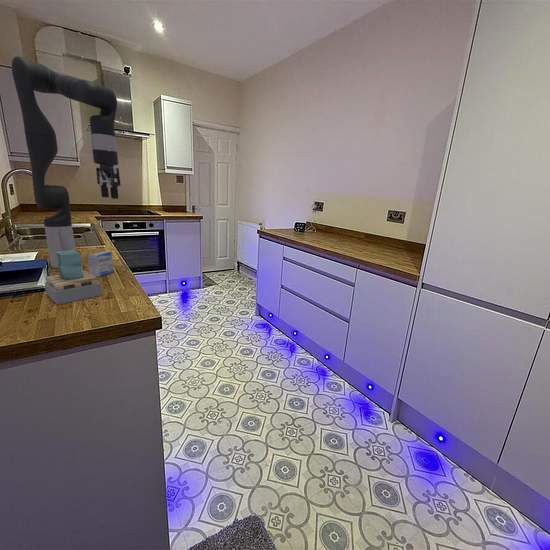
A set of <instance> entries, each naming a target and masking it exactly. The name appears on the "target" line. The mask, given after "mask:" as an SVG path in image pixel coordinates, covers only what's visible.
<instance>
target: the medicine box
mask: <svg viewBox="0 0 550 550" xmlns="http://www.w3.org/2000/svg"><path fill="white" fill-rule="evenodd" d="M112 253H113V252H112V251H106V250H102V251H98V252H95V253H90V254H87V263H88V270H89V273H90V274H92V275H94V276H95V277H97V278H100V277H103V275H104V276H106V274H107V275H109V273H110V274H112V273H114V272H115V271H114V270H115V269H114V262H113V254H112Z"/></svg>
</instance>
